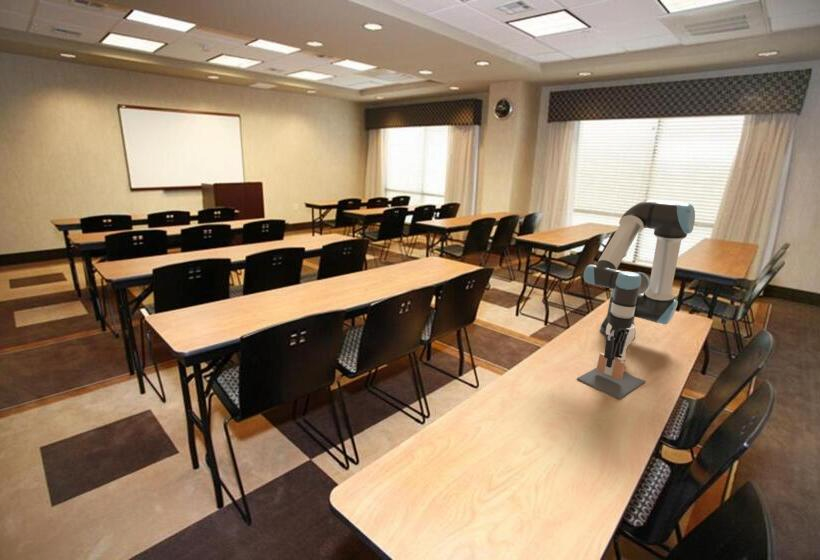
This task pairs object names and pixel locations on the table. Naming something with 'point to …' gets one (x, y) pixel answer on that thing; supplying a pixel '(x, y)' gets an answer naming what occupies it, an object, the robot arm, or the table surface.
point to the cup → (628, 340)
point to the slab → (617, 369)
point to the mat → (611, 383)
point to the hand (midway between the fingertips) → (609, 373)
